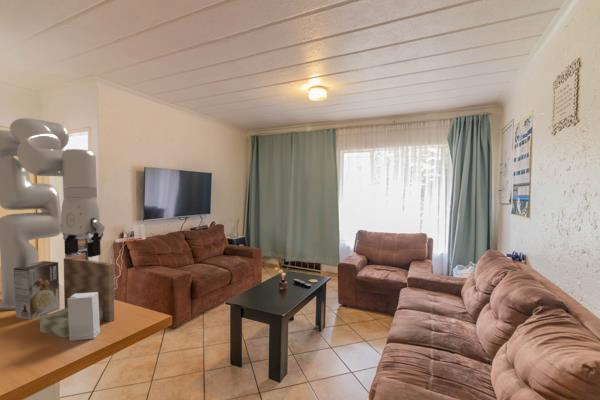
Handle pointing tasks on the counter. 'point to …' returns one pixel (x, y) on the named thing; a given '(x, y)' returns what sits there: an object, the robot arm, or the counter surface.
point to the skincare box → (83, 316)
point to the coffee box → (36, 289)
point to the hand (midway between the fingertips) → (82, 254)
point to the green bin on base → (82, 280)
